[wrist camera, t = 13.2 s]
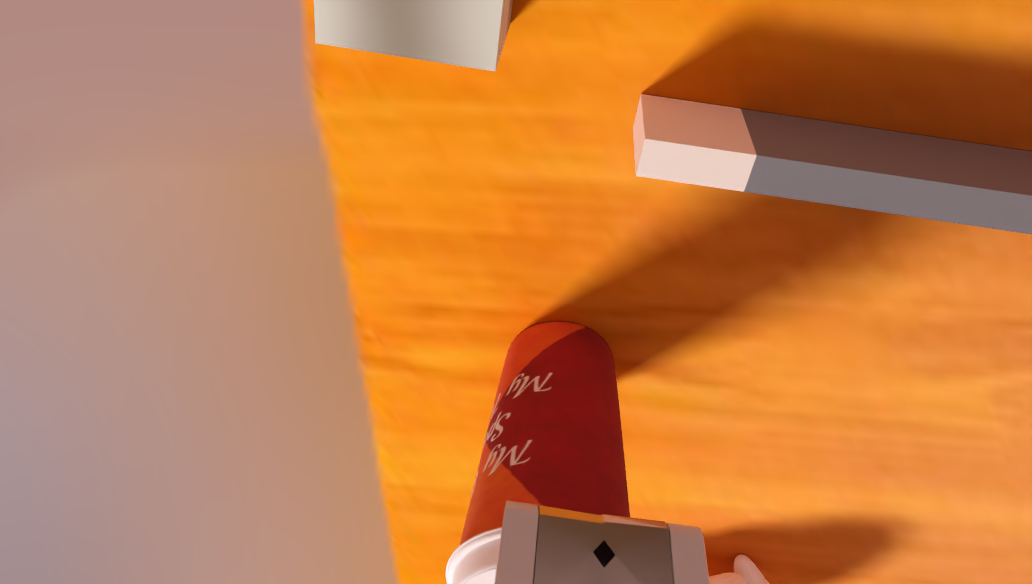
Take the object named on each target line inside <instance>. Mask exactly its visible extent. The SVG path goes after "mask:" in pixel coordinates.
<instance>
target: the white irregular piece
mask: <svg viewBox="0 0 1032 584" xmlns="http://www.w3.org/2000/svg"><path fill="white" fill-rule="evenodd" d="M709 581H710V584H770V583H769V582H768V581H767V580H766V579H765V578H764V576H763V574H762V573H761V572H760V571H759V569H758V568H757V567H756V565H755V564H754V563H753V562H752V560H751V559H749V558H748V557H747V556H746V555H738V556H736V558H735V560H734V573H722V574H718V575H714V576H709Z"/></svg>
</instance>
